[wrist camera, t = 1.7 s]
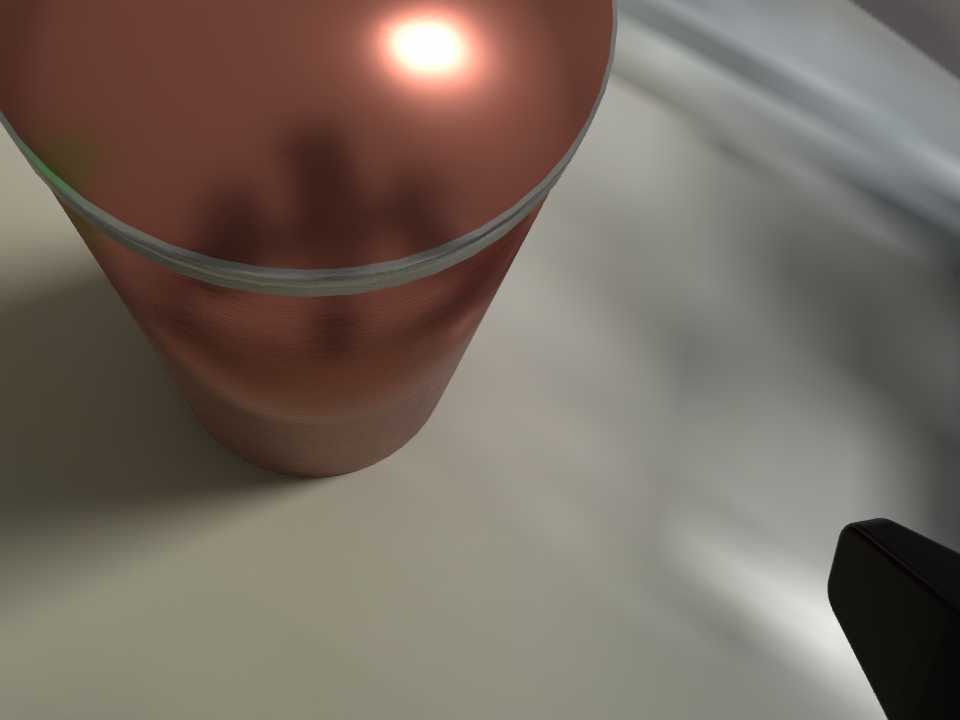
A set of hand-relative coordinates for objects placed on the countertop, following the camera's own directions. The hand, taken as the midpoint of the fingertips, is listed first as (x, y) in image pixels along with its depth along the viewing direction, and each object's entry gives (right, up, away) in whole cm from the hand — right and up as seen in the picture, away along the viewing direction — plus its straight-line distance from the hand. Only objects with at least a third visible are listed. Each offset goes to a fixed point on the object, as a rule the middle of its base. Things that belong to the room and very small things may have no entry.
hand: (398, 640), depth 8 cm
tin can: (-3, +3, +13) cm, 14 cm away
